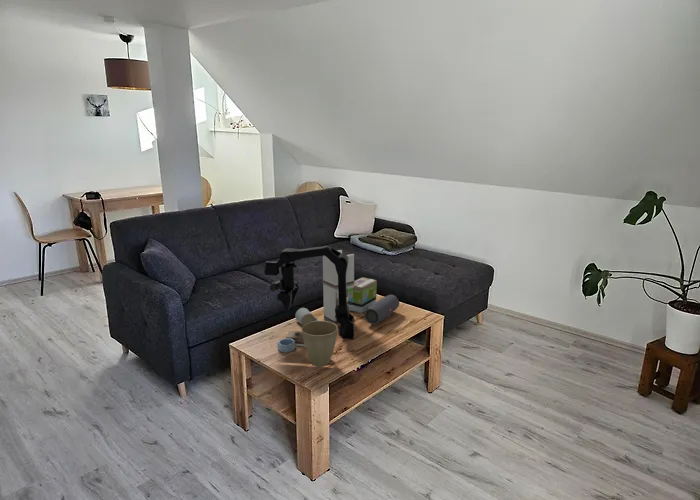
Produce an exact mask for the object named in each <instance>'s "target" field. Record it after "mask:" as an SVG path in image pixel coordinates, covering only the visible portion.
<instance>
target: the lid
mask: <svg viewBox="0 0 700 500" xmlns="http://www.w3.org/2000/svg"><path fill="white" fill-rule="evenodd" d="M285 338H290V339H293V340H294V341H295V344H304V339H303V334H302V331H296V330H295V331H294V330H289V331H288V332H287V335H286V336H285Z"/></svg>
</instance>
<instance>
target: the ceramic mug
mask: <svg viewBox="0 0 700 500" xmlns="http://www.w3.org/2000/svg"><path fill="white" fill-rule="evenodd" d="M294 316H295V317H294V318H295V320H296V322H298V323H299V324H300V325H301V326H302V327H303V326H304V325H305V324H307V323H309V322H313V321H319V319H318V318H316V317H315V316H314V315H313V313H312V312H310V310H309V309H308V308H307V307H306V308H305V307H301V308H299V309H297V311H296V312H295V315H294Z"/></svg>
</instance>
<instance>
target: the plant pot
mask: <svg viewBox="0 0 700 500" xmlns="http://www.w3.org/2000/svg"><path fill="white" fill-rule="evenodd" d="M338 328H339V327H338V324H334V323H332V322H328V321H326V320H318V321H313V322H309V323H307V324H305V325H304V326H303V325H302V327H301V332H302V334H303V339H304V344H305V346H304V348H305V351H306V353H307V355H308V358H309V361H310V362H311V365H312V366H314V367H318V368H321V367H326V366H328V364H329V363H330V362H331V359H332V356H333V353H334V349H335V345H336V343H337V336H338V331H339V329H338Z"/></svg>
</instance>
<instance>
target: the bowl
mask: <svg viewBox="0 0 700 500" xmlns="http://www.w3.org/2000/svg"><path fill="white" fill-rule="evenodd" d="M295 349H296V346H295V341H294V340H293V339H290V338H286V337H284V338H282V339H279V340H278V341H277V350H278V351H279V352H281V353H289V352H292V351H295Z"/></svg>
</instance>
